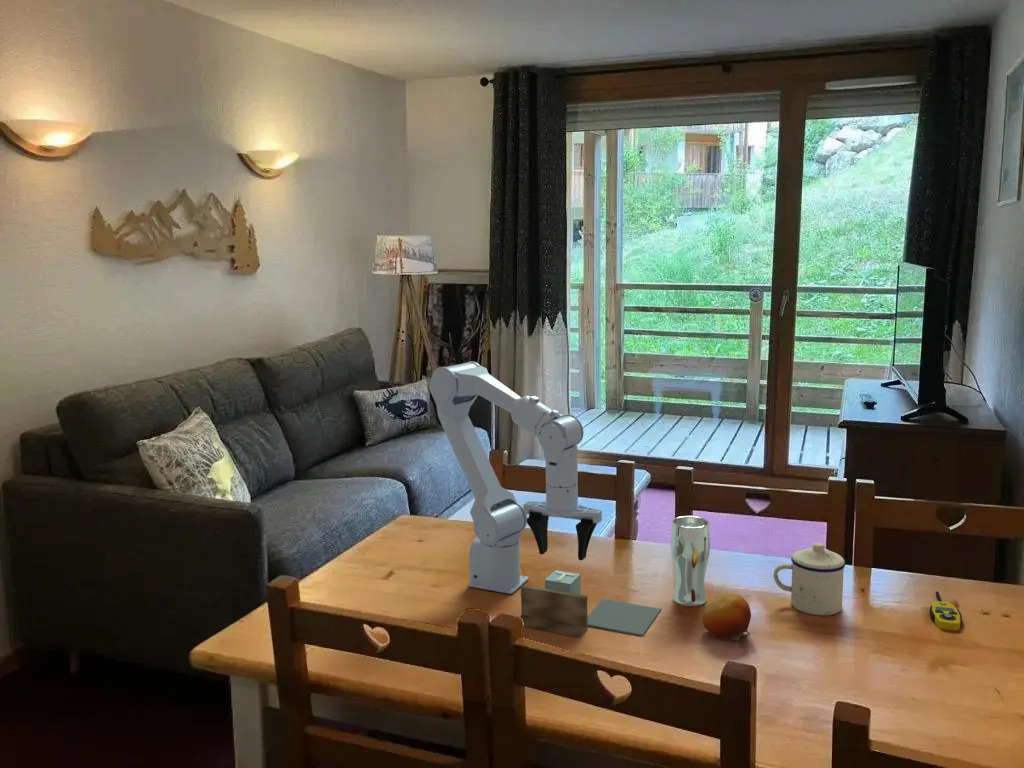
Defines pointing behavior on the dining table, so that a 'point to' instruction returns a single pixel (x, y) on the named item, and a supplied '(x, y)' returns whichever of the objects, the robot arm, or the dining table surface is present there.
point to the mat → (622, 617)
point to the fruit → (727, 616)
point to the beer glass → (690, 559)
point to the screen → (554, 610)
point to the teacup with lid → (815, 580)
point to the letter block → (564, 582)
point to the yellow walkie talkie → (945, 615)
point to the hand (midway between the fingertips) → (562, 555)
